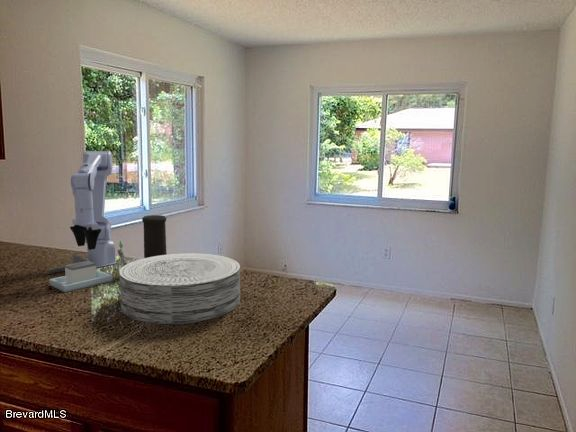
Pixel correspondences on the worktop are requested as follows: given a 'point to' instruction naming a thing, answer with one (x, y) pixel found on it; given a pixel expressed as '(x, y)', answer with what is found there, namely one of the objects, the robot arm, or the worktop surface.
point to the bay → (75, 260)
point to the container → (154, 235)
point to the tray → (63, 286)
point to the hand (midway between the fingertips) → (86, 247)
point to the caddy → (80, 272)
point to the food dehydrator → (179, 287)
